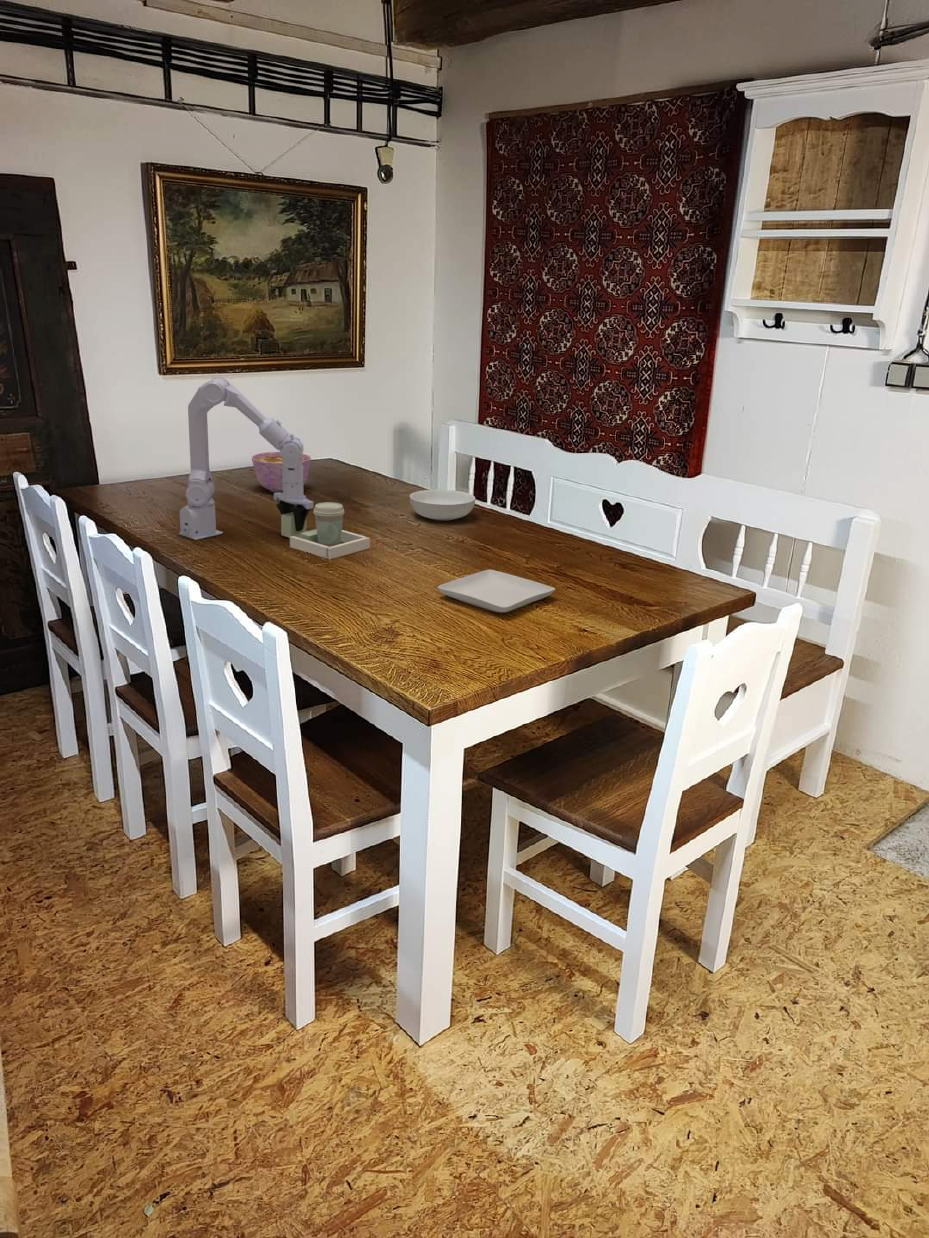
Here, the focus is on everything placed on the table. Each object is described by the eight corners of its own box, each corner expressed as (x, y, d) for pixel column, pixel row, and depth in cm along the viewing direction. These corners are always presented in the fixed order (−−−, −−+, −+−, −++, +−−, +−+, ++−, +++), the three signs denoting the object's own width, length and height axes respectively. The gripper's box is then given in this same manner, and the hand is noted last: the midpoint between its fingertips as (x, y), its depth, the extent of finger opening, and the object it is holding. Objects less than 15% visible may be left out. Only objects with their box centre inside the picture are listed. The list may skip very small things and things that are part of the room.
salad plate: (488, 579, 234) (489, 567, 233) (556, 600, 222) (557, 586, 220) (434, 598, 218) (434, 585, 217) (504, 622, 206) (505, 607, 205)
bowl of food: (250, 484, 319) (248, 452, 315) (307, 483, 325) (306, 451, 320) (255, 498, 301) (254, 463, 297) (315, 496, 307) (315, 462, 303)
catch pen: (329, 559, 242) (329, 548, 241) (290, 547, 251) (289, 536, 250) (369, 548, 254) (370, 537, 253) (330, 536, 263) (330, 526, 262)
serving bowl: (477, 511, 298) (478, 491, 296) (471, 528, 279) (472, 506, 276) (414, 507, 300) (414, 486, 297) (404, 523, 280) (404, 501, 278)
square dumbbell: (308, 546, 252) (309, 525, 250) (278, 535, 259) (278, 515, 257) (330, 541, 258) (330, 520, 256) (299, 530, 265) (299, 510, 263)
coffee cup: (307, 548, 251) (306, 506, 247) (325, 541, 258) (325, 500, 254) (333, 553, 248) (332, 511, 243) (350, 546, 255) (350, 504, 250)
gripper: (321, 484, 254) (321, 531, 259) (286, 475, 262) (287, 521, 267) (302, 488, 249) (303, 535, 254) (267, 479, 257) (269, 525, 262)
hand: (294, 528), depth 260 cm, fingers closed on square dumbbell, 4 cm apart
